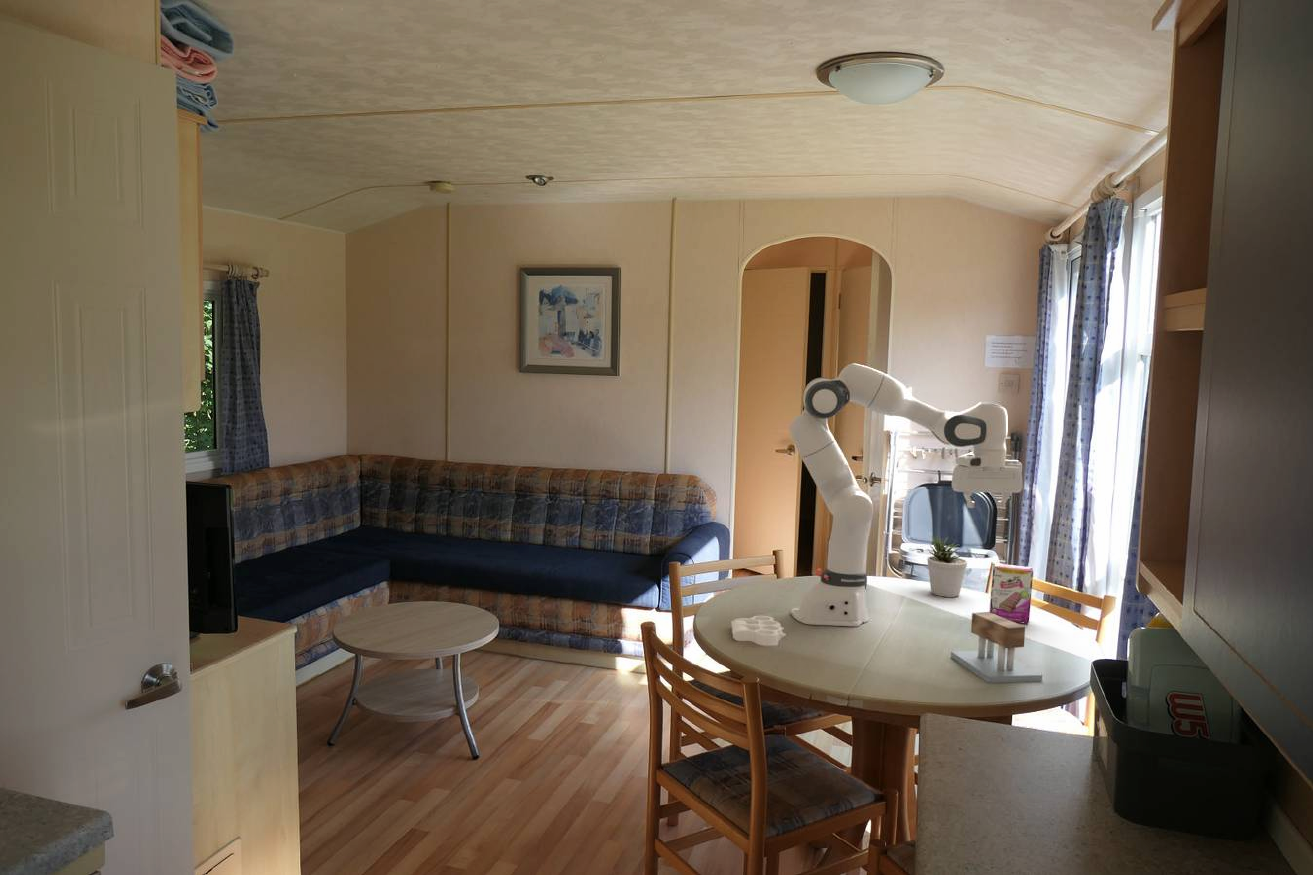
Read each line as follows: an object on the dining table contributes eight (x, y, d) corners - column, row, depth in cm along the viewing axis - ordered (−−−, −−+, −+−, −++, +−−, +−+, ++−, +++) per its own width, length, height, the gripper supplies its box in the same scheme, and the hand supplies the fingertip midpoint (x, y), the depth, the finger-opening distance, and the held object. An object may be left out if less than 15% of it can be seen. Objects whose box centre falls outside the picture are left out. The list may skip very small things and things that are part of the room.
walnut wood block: (971, 632, 221) (972, 613, 221) (987, 631, 223) (988, 611, 222) (1007, 648, 209) (1008, 628, 208) (1023, 647, 211) (1025, 626, 210)
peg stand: (988, 682, 207) (990, 651, 206) (950, 657, 224) (952, 628, 224) (1042, 681, 209) (1044, 650, 208) (1000, 656, 226) (1002, 628, 226)
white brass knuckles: (730, 625, 247) (782, 628, 246) (733, 646, 229) (789, 648, 228) (731, 614, 247) (782, 616, 246) (733, 633, 229) (789, 636, 228)
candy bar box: (989, 620, 260) (992, 566, 258) (988, 615, 265) (992, 562, 263) (1029, 624, 256) (1033, 570, 255) (1028, 620, 261) (1032, 566, 260)
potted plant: (962, 590, 294) (966, 532, 293) (967, 600, 281) (971, 539, 279) (923, 587, 297) (927, 529, 296) (926, 597, 284) (930, 536, 282)
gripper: (1016, 458, 252) (1013, 506, 253) (950, 457, 249) (947, 505, 250) (1028, 461, 246) (1025, 509, 247) (961, 460, 242) (958, 509, 244)
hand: (985, 507), depth 248 cm, fingers open, 8 cm apart
